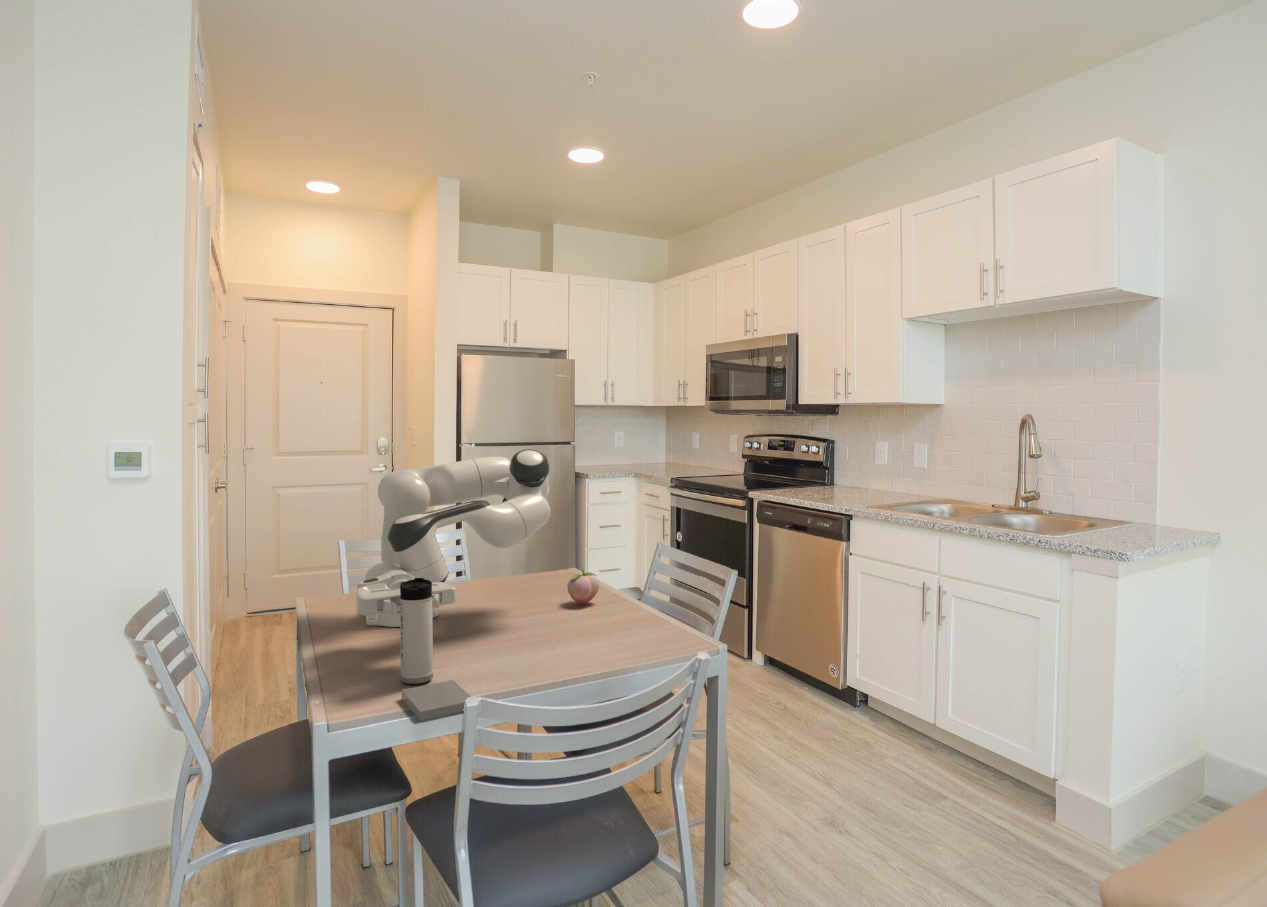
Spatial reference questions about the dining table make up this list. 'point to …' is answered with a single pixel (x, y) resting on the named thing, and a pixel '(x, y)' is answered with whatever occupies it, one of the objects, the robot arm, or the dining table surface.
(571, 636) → the dining table surface
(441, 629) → the dining table surface
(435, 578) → the robot arm
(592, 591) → the decorative fruit
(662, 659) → the dining table surface
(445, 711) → the tile
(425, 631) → the travel mug
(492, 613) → the dining table surface
